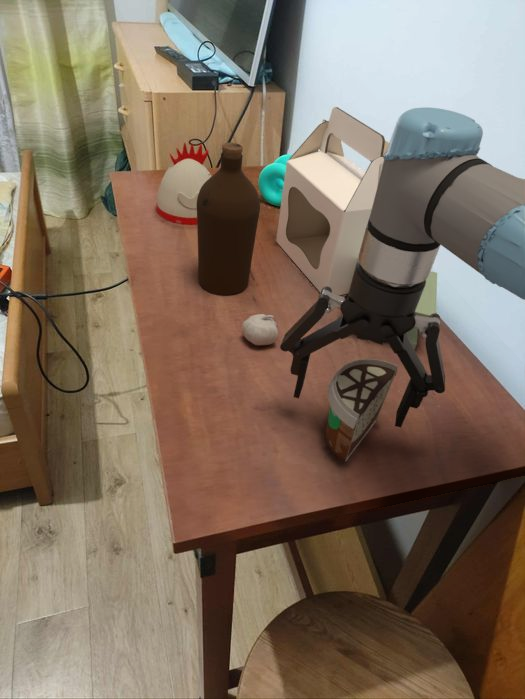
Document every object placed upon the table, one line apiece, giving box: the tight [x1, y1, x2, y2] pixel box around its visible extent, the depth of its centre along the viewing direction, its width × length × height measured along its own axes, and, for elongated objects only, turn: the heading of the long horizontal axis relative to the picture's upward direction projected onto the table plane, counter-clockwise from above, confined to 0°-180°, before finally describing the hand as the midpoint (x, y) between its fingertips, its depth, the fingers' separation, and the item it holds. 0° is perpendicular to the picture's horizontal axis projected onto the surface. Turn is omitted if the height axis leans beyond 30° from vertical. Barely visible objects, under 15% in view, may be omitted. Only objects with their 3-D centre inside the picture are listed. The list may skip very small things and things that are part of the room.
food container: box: [325, 358, 399, 463], centre depth 67 cm, size 12×6×10 cm, turn 144°
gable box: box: [275, 106, 390, 296], centre depth 95 cm, size 22×13×28 cm, turn 24°
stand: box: [358, 260, 438, 351], centre depth 88 cm, size 14×14×8 cm
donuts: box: [257, 153, 293, 207], centre depth 122 cm, size 10×10×10 cm
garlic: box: [241, 313, 279, 346], centre depth 81 cm, size 6×5×5 cm
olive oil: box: [196, 142, 261, 296], centre depth 87 cm, size 11×11×25 cm
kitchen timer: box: [156, 141, 212, 226], centre depth 111 cm, size 14×14×15 cm
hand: (347, 405), depth 68 cm, fingers open, 13 cm apart
